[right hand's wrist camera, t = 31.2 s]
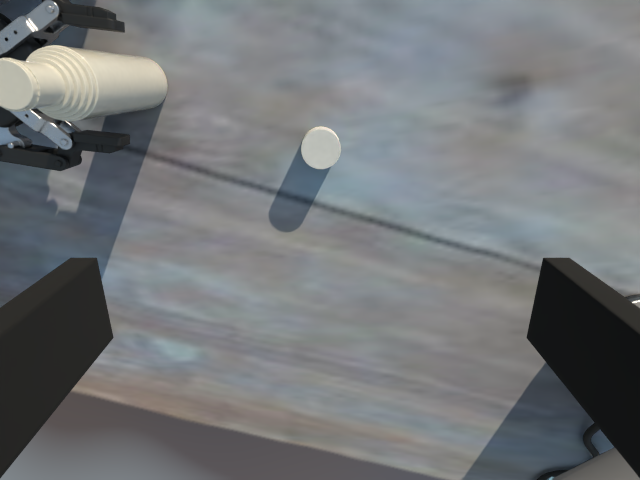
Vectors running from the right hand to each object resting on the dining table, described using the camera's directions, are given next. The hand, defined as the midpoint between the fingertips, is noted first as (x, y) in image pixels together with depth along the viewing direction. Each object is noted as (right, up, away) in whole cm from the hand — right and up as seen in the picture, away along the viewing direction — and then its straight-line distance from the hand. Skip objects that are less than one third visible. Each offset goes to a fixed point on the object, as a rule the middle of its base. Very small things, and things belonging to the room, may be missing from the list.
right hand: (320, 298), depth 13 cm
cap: (0, +10, +27) cm, 29 cm away
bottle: (-17, +16, +27) cm, 35 cm away
